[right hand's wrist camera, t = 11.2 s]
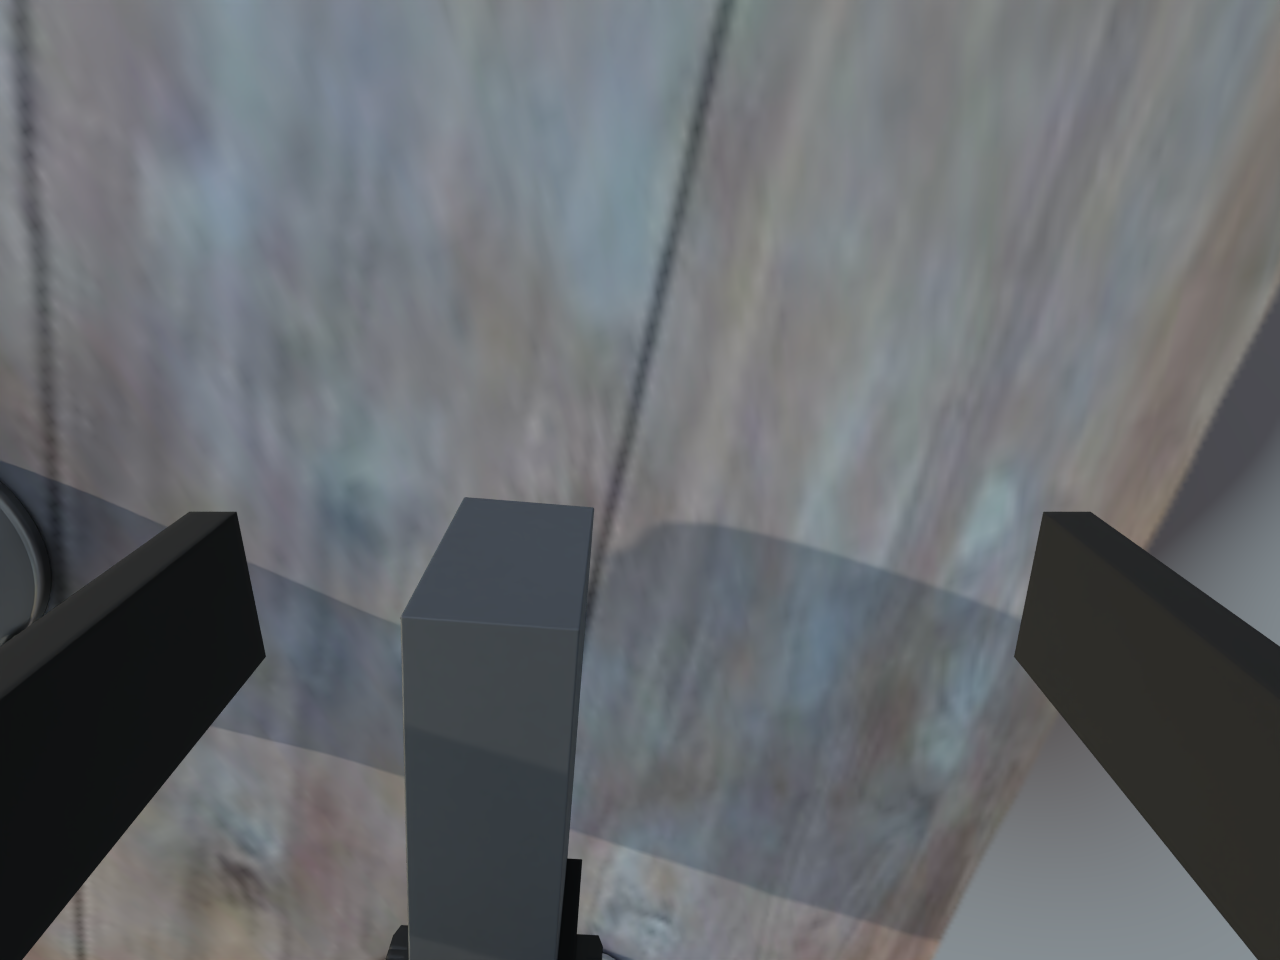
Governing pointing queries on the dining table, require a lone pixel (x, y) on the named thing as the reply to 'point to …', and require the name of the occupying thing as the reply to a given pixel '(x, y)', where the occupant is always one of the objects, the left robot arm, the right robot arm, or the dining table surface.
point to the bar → (493, 729)
